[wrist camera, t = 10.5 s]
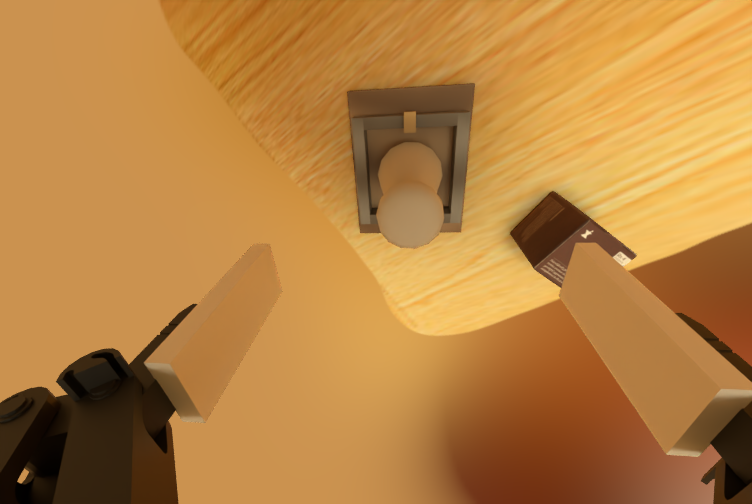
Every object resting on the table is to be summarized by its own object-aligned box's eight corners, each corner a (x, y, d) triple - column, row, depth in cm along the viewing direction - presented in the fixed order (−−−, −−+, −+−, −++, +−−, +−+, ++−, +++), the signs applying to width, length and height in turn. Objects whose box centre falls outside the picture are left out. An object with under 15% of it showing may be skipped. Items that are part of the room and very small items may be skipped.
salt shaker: (428, 202, 31) (439, 273, 20) (375, 188, 31) (355, 252, 20) (448, 145, 28) (473, 191, 17) (389, 129, 28) (374, 165, 17)
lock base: (349, 91, 27) (341, 92, 24) (472, 83, 26) (481, 84, 23) (361, 229, 34) (356, 244, 31) (459, 228, 33) (464, 243, 30)
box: (507, 232, 33) (531, 268, 27) (552, 188, 30) (591, 217, 24) (546, 260, 34) (578, 301, 28) (593, 221, 31) (640, 256, 25)
